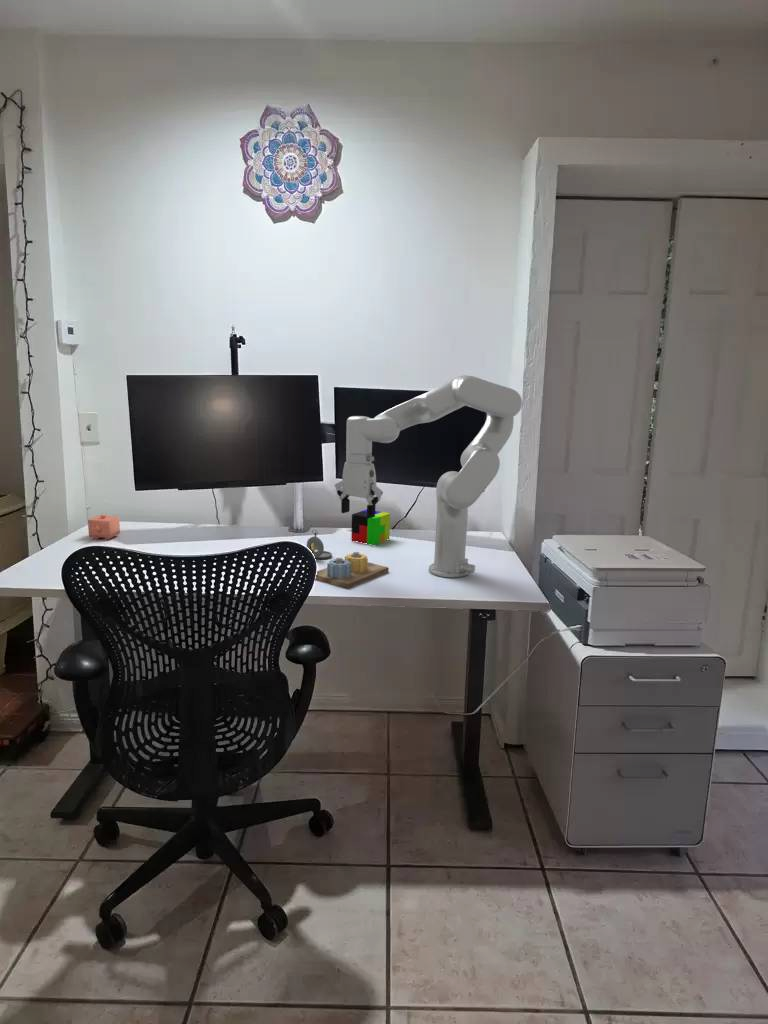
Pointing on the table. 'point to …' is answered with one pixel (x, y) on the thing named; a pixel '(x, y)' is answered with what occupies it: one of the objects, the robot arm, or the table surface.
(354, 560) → the gear
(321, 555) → the pocket watch
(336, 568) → the gear
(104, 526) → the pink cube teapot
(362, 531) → the puzzle toy
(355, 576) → the gear board
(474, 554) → the table surface
